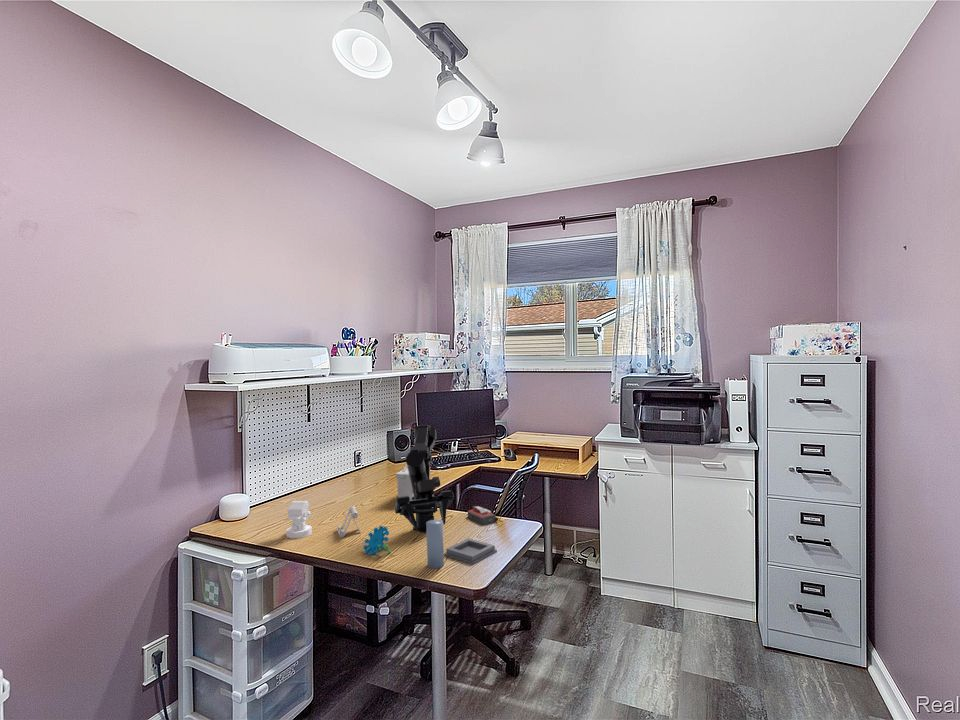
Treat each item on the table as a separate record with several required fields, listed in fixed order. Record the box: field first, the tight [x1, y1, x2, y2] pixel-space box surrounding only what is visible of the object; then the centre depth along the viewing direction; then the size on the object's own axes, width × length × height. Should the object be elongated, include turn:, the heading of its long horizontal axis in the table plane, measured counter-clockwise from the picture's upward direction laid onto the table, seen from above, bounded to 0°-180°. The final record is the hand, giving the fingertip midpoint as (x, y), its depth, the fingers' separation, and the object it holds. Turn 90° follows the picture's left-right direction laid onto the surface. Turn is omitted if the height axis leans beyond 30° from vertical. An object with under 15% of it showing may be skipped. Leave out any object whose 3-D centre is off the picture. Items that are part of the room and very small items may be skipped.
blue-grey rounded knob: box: [425, 519, 445, 569], centre depth 148 cm, size 5×5×13 cm
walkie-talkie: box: [467, 505, 499, 525], centre depth 193 cm, size 9×4×20 cm
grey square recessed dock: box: [444, 537, 498, 565], centre depth 157 cm, size 12×12×2 cm
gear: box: [362, 525, 392, 556], centre depth 161 cm, size 11×6×10 cm
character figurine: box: [285, 500, 313, 539], centre depth 178 cm, size 9×10×12 cm
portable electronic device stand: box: [336, 505, 362, 539], centre depth 179 cm, size 9×8×8 cm
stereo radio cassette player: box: [395, 464, 414, 500], centre depth 223 cm, size 21×8×20 cm, turn 164°
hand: (430, 525), depth 152 cm, fingers open, 9 cm apart
